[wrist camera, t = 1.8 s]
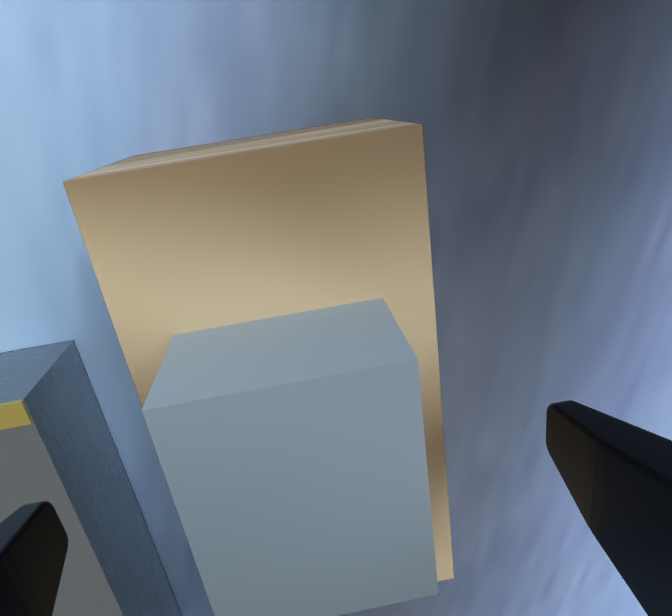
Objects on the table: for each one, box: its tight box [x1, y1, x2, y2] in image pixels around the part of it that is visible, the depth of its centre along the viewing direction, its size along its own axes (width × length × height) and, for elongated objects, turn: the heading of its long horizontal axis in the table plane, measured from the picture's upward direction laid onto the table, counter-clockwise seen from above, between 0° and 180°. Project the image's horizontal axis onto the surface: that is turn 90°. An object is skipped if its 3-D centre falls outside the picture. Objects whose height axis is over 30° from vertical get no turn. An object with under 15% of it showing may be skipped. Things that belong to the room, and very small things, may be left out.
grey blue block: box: [141, 298, 439, 616], centre depth 9 cm, size 5×4×2 cm
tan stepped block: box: [63, 118, 454, 581], centre depth 12 cm, size 11×6×4 cm, turn 8°
